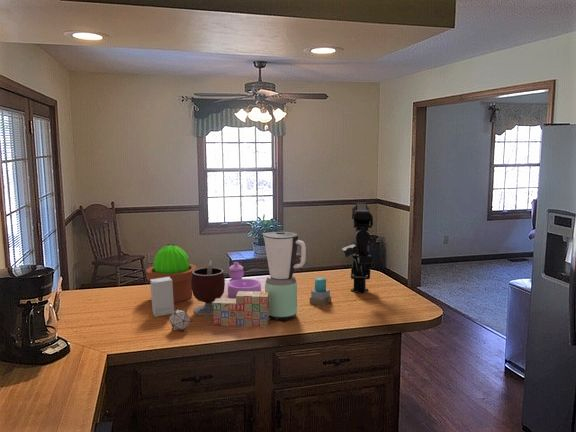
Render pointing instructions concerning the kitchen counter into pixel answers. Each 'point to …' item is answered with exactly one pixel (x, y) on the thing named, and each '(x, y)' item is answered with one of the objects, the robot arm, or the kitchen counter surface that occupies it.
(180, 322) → the game die
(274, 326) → the kitchen counter surface
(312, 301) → the tower base
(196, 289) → the mate gourd
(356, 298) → the kitchen counter surface
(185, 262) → the potted cactus
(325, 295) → the tower top
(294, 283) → the blender
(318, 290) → the teal domed cylinder
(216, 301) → the stack of blocks
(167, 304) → the skincare box
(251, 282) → the purple toy boat
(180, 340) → the kitchen counter surface
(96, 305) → the kitchen counter surface
